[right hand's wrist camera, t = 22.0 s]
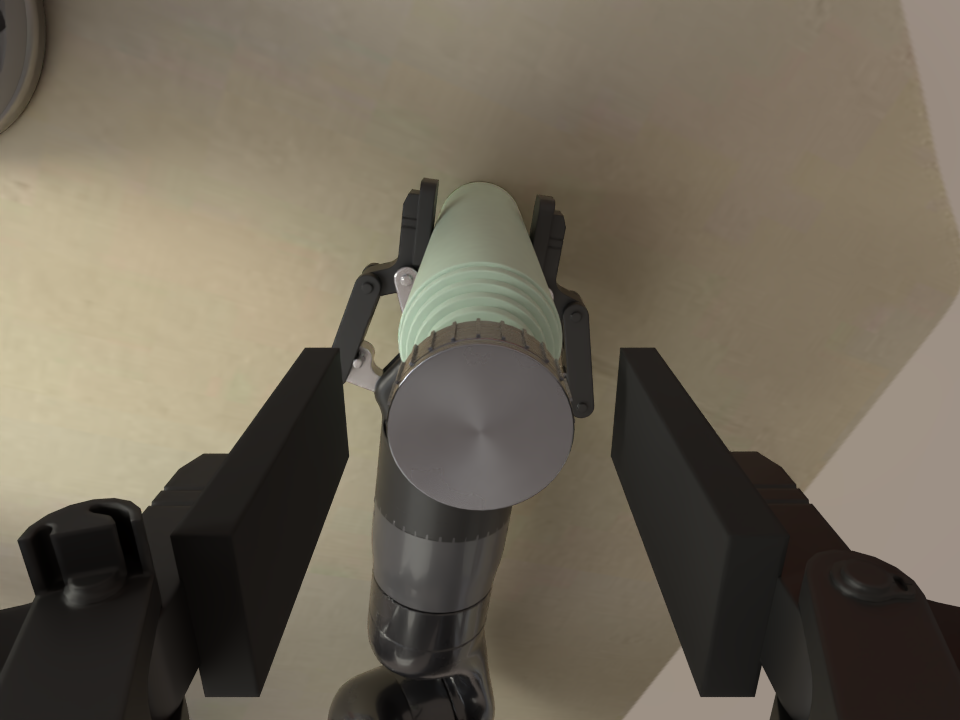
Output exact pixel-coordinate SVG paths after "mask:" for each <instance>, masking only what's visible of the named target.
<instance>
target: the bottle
mask: <svg viewBox="0 0 960 720" xmlns="http://www.w3.org/2000/svg"><path fill="white" fill-rule="evenodd" d="M477 318H480V321H493V322H499V323H500V321H501V320H502V321H504V323H505V324H507V325H510V326H513V327H516V328H518V329H520V330H522V329H523V328H524V329H526V331H527V333H528V334H529V335H531V336H533V337H534V338H535V339H536V340H538V341H539V342H540V343H541V342H542V341H543V342H544V343H545V346H546V349H547V350H548V351H549V352H550V354H551V355H552V357H553V358H554V359H556V358H557V359H558V361H559V358H560V355H561V349H562V327H561V322H560V318H559V315H558V312H557V309H556V307H555V304H554V301H553V299H552V296H551V293H550V291H549V288H548V285H547V283H546V280H545V277H544V275H543V272H542V269H541V267H540V264H539V261H538V259H537V256H536V253H535V251H534V248H533V245H532V243H531V240H530V237H529V235H528V232H527V229H526V227H525V224H524V221H523V219H522V216H521V213H520V211H519V208H518V206H517V204H516V202H515V200H514V199H513V198H512V197H511V195H510V194H509V193H508V192H506V191H505V190H504V189H502V188H501V187H499V186H497V185H494V184H491V183H487V182H473V183H469V184H466V185H463V186H461V187H459V188H458V189H456V190H455V191H454V192H452V193H451V194H450V195H449V197H448V198H447V199H446V201H445V202H444V204H443V206H442V208H441V211H440V214H439V216H438V219H437V222H436V224H435V227H434V230H433V233H432V235H431V238H430V241H429V243H428V246H427V249H426V251H425V254H424V257H423V260H422V262H421V265H420V268H419V270H418V273H417V276H416V278H415V281H414V284H413V287H412V289H411V292H410V295H409V297H408V300H407V303H406V305H405V308H404V311H403V314H402V317H401V320H400V325H399V332H398V344H399V352H400V356H401V360H402V362H405V361H406V359H407V358H408V356H409V355H410V353H411V352H412V349H413V346H414V345H415V344H416V345H419V344H420V343H421V342H422V341H423V340H424V339H426V338H427V337H429V336H430V335H431V332H432V331H433V330H435V332H437V331H439V330H441V329H443V328H445V327H448V326H451V325H452V324H453V322H455V321H456V322H457V323H462V322H467V321H476V319H477Z"/></svg>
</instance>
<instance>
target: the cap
mask: <svg viewBox="0 0 960 720" xmlns="http://www.w3.org/2000/svg"><path fill="white" fill-rule="evenodd" d="M571 401H573V399H572V396H571V393H570V389H569V386H568V383H567V380H566V378H564V377H563V373H562V370H561V367H560V364H559V361H558V359H557V358H556V359H554V358H553V357H552V355H551V354H550V352H549V351H548V350H547V349H546V346H545V343H544V342H543V341H542V342H541V343H540V342H539V341H538V340H536V339H535V338H534V337H533V336H531V335H529V334H528V333H527V331H526V329H524V328H523V329H522V330H520V329H518V328H516V327H513V326H510V325H507V324H505V323H504V321H502V320H501V321H500V323H499V322H493V321H480V318H477V319H476V321H467V322H462V323H457V322H456V321H455V322H453V324H452V325H451V326H448V327H445V328H443V329H441V330H439V331H437V332H435V330H433V331H432V332H431V335H430V336H429V337H427V338H426V339H424V340H423V341H422V342H421V343H420V344H419V345H416V344H415V345H414V346H413V349H412V352H411V353H410V355H409V356H408V358H407V359H406V361H405V362H401V364H400V367H399V370H398V374H397V377H396V380H395V382H394V383H393V386H392V390H391V393H390V396H389V399H388V403H387V405H390V406H389V410H388V415H387V422H386V427H387V438H388V444H389V447H390V451H391V454H392V456H393V458H394V460H395V462H396V464H397V466H398V467H399V469H400V470H401V472H402V474H403V475H404V476H405V477H406V478H407V479H408V481H409V482H410V483H411V484H413V485H414V486H415V487H416V488H417V489H418V490H420V491H421V492H422V493H424V494H425V495H427V496H428V497H430V498H432V499H434V500H436V501H438V502H441V503H443V504H446V505H448V506H452V507H456V508H460V509H467V510H481V511H483V510H495V509H500V508H506V507H509V506H512V505H515V504H518V503H520V502H523V501H525V500H527V499H529V498H531V497H532V496H534V495H536V494H537V493H539V492H540V491H541V490H543V489H544V488H545V487H546V486H547V485H548V484H549V483H550V482H551V481H552V480H553V479H554V478H555V477H556V476H557V474H558V473H559V472H560V471H561V469H562V467H563V466H564V464H565V462H566V460H567V458H568V456H569V453H570V451H571V447H572V443H573V439H574V430H575V429H574V423H575V418H574V415H573V410H572V406H571Z"/></svg>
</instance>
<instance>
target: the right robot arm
mask: <svg viewBox="0 0 960 720" xmlns="http://www.w3.org/2000/svg"><path fill="white" fill-rule="evenodd" d="M45 38H46V27H45V13H44V6H43V0H0V133H2V132H3V131H5V130H6V129H7V128H8V127H9V126H10V125H11V124H12V123H13V122H14V121H15V120H16V119H17V118H18V117H19V115H20V114H21V113H22V112H23V110H24V109H25V107H26V106H27V104H28V102H29V101H30V99H31V97H32V95H33V93H34V91H35V89H36V86H37V83H38V80H39V77H40V74H41V70H42V65H43V61H44V52H45ZM348 458H349V449H348V438H347V426H346V415H345V403H344V392H343V381H342V369H341V358H340V348H305V349H304V350H303V351H302V353H301V354H300V356H299V357H298V358H297V360H296V361H295V362H294V364H293V365H292V367H291V368H290V369H289V371H288V372H287V374H286V375H285V376H284V378H283V379H282V381H281V382H280V383H279V385H278V386H277V387H276V389H275V390H274V392H273V393H272V394H271V396H270V397H269V399H268V400H267V401H266V403H265V404H264V406H263V407H262V408H261V410H260V411H259V412H258V414H257V415H256V417H255V418H254V419H253V421H252V422H251V424H250V425H249V426H248V428H247V429H246V431H245V432H244V433H243V435H242V436H241V437H240V439H239V440H238V442H237V443H236V444H235V446H234V447H233V449H232V450H231V451H230V453H229V454H202V455H201V456H199V457H197V458H196V459H194V460H193V461H191V462H190V463H188V464H186V465H185V466H183V467H182V468H180V469H179V470H178V471H177V472H176V473H175V475H174V476H173V477H172V478H171V479H170V481H169V482H168V483H167V484H166V486H165V487H164V491H161V492H160V493H159V494H158V495H157V496H156V498H155V499H154V500H153V501H152V506H148V507H147V509H146V510H145V511H144V512H143V513H141V509H140V508H139V507H138V506H136V505H135V504H134V503H133V502H131V501H127V500H122V499H117V498H108V499H93V500H89V501H85V502H81V503H77V504H73V505H69V506H67V507H65V508H62V509H60V510H58V511H55V512H53V513H50V514H48V515H46V516H45V517H43V518H42V519H40V520H39V521H37V522H36V523H34V524H33V525H31V526H30V527H29V528H28V529H27V530H26V531H25V532H24V533H23V534H22V535H21V537H20V538H19V539H18V540H17V541H18V544H19V547H20V550H21V553H22V556H23V559H24V562H25V565H26V568H27V571H28V574H29V577H30V581H31V584H32V587H33V590H34V593H35V598H34V601H33V602H32V603H29V604H25V605H21V606H17V607H12V608H7V609H3V610H0V720H189V715H188V708H187V704H186V700H185V693H186V691H187V689H188V687H189V685H190V683H191V681H192V679H193V677H194V675H195V673H196V671H197V669H198V667H199V671H200V676H201V680H202V685H203V689H204V694H205V697H260V694H261V691H262V689H263V686H264V683H265V681H266V678H267V675H268V673H269V670H270V667H271V665H272V662H273V659H274V656H275V654H276V651H277V648H278V646H279V643H280V640H281V638H282V635H283V632H284V630H285V627H286V624H287V622H288V619H289V616H290V614H291V611H292V608H293V605H294V603H295V600H296V597H297V595H298V592H299V589H300V587H301V584H302V581H303V579H304V576H305V573H306V571H307V568H308V565H309V562H310V560H311V557H312V554H313V552H314V549H315V546H316V544H317V541H318V538H319V536H320V533H321V530H322V528H323V525H324V522H325V520H326V517H327V514H328V511H329V509H330V506H331V503H332V501H333V498H334V495H335V493H336V490H337V487H338V485H339V482H340V479H341V477H342V474H343V471H344V469H345V466H346V463H347V460H348ZM611 458H612V460H613V463H614V466H615V469H616V471H617V474H618V477H619V479H620V482H621V485H622V487H623V490H624V493H625V495H626V498H627V501H628V503H629V506H630V509H631V511H632V514H633V517H634V520H635V522H636V525H637V528H638V530H639V533H640V536H641V538H642V541H643V544H644V546H645V549H646V552H647V554H648V557H649V560H650V563H651V565H652V568H653V571H654V573H655V576H656V579H657V581H658V584H659V587H660V589H661V592H662V595H663V597H664V600H665V603H666V605H667V608H668V611H669V614H670V616H671V619H672V622H673V624H674V627H675V630H676V632H677V635H678V638H679V640H680V643H681V646H682V648H683V651H684V654H685V656H686V659H687V662H688V665H689V667H690V670H691V673H692V675H693V678H694V681H695V683H696V686H697V689H698V691H699V694H700V696H701V697H755V694H756V689H757V685H758V680H759V676H760V671H761V666H763V668H764V670H765V672H766V674H767V676H768V678H769V680H770V682H771V684H772V686H773V688H774V690H775V692H776V695H775V700H774V704H773V708H772V712H771V717H770V720H960V607H957V606H952V605H947V604H943V603H938V602H934V601H931V600H927V599H926V597H925V595H924V594H923V592H922V591H921V590H920V588H919V587H918V586H917V584H916V583H915V582H914V580H912V579H911V578H910V577H908V576H907V575H906V574H904V573H903V572H902V571H900V570H899V569H898V568H896V567H894V566H892V565H890V564H888V563H886V562H884V561H882V560H880V559H878V558H876V557H873V556H869V555H866V554H862V553H859V552H855V551H851V550H850V549H849V548H848V546H847V545H846V544H845V543H844V542H843V540H842V539H841V538H840V537H839V536H838V534H837V533H836V532H835V531H834V530H833V528H832V527H831V526H830V525H829V524H828V522H827V521H826V520H825V519H824V518H823V517H822V515H821V514H820V513H819V512H818V510H817V509H816V508H815V507H814V506H813V504H809V500H808V498H807V497H806V496H805V495H804V494H803V492H802V491H801V490H800V489H797V488H796V484H795V483H794V482H793V480H792V479H791V478H790V477H789V476H788V474H787V473H786V472H785V471H784V470H783V468H782V467H781V466H779V465H777V464H776V463H774V462H773V461H771V460H769V459H768V458H766V457H765V456H763V455H761V454H760V453H758V452H730V451H729V450H728V449H727V447H726V446H725V444H724V443H723V442H722V440H721V439H720V437H719V436H718V435H717V433H716V432H715V431H714V429H713V428H712V426H711V425H710V424H709V422H708V421H707V419H706V418H705V417H704V415H703V414H702V412H701V411H700V410H699V408H698V407H697V406H696V404H695V403H694V401H693V400H692V399H691V397H690V396H689V394H688V393H687V392H686V390H685V389H684V387H683V386H682V385H681V383H680V382H679V381H678V379H677V378H676V376H675V375H674V374H673V372H672V371H671V369H670V368H669V367H668V365H667V364H666V362H665V361H664V360H663V358H662V357H661V356H660V354H659V353H658V351H657V350H656V349H655V348H620V358H619V369H618V381H617V392H616V403H615V415H614V426H613V438H612V449H611Z"/></svg>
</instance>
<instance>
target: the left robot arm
mask: <svg viewBox="0 0 960 720" xmlns="http://www.w3.org/2000/svg"><path fill="white" fill-rule="evenodd" d="M438 185H439V180H436V179H429V178H423V180H422V181H421V186H420V190H414V189H412V190H411V191H410V192H409V194H408V196H407V198H406V200H405V202H404V204H403V213H402V224H401V235H400V245H399V255H398V258H397V259H396V260H394V261H392V262H388V263H383V264H378V263H371V264H369V265H367V266H366V267H365V269H364V270H363V272H362V275H360V276H359V277H358V279H357V280H356V282H355V284H354V287H353V290H352V293H351V296H350V298H349V301H348V304H347V307H346V309H345V312H344V315H343V318H342V320H341V323H340V326H339V329H338V332H337V334H336V337H335V340H334V343H333V345H332V348H340V358H341V369H342V381H343V384H344V383H345V382H346V381H347V382H349V383H352V384H355V385H357V386H360V387H363V388H365V389H368V390H371V391H373V392H374V393H375V398H376V401H377V403H378V404H379V407H380V409H381V413H382V428H381V438H380V449H379V459H378V470H377V480H376V491H375V498H374V513H373V523H372V551H373V570H372V580H371V591H370V601H369V613H368V637H369V642H370V645H371V648H372V650H373V652H374V654H375V656H376V657H377V659H378V660H379V661H380V662H381V664H383V665H382V666H380V667H377V668H374V669H372V670H369V671H367V672H364V673H362V674H360V675H357V676H355V677H354V678H352V679H350V680H349V681H347V682H346V683H345V684H344V685H342V687H341V688H340V689H339V690H338V692H337V693H336V695H335V697H334V698H333V701H332V704H331V706H330V709H329V714H328V720H494V714H495V703H494V696H493V690H492V685H491V680H490V674H489V667H488V658H487V649H486V641H485V630H484V627H485V622H486V617H487V612H488V607H489V601H490V596H491V590H492V585H493V580H494V576H495V573H496V571H497V568H498V565H499V563H500V560H501V557H502V554H503V550H504V545H505V540H506V535H507V530H508V525H509V519H510V514H511V509H512V506H509V507H506V508H500V509H495V510H483V511H481V510H467V509H460V508H456V507H452V506H448V505H446V504H443V503H441V502H438V501H436V500H434V499H432V498H430V497H428V496H427V495H425V494H424V493H422V492H421V491H420V490H418V489H417V488H416V487H415V486H414V485H413V484H411V483H410V482H409V481H408V479H407V478H406V477H405V476H404V475H403V474H402V472H401V470H400V469H399V467H398V466H397V464H396V462H395V460H394V458H393V456H392V454H391V451H390V447H389V444H388V438H387V427H386V422H387V415H388V410H389V406H390V405H387V403H388V399H389V396H390V393H391V390H392V386H393V383H394V382H395V380H396V377H397V374H398V370H399V367H400V364H401V362H402V360H401V356H400V353H399V354H398V355H397V356H396V357H395V358H394V359H393V360H392V361H391V362H390V363H389V364H388V365H387V366H386V367H385V368H384V369H383V370H382V369H380V368H379V367H378V366H377V365H376V364H375V361H374V355H375V350H374V347H373V346H372V344H370V343H369V342H367V341H364V338H365V335H366V333H367V330H368V328H369V325H370V322H371V320H372V317H373V314H374V312H375V309H376V306H377V304H378V301H379V299H380V296H383V295H388V294H393V293H397V295H398V299H399V303H400V307H401V311H402V314H403V311H404V308H405V305H406V303H407V300H408V297H409V295H410V292H411V289H412V287H413V284H414V281H415V278H416V276H417V273H418V270H419V268H420V265H421V262H422V260H423V257H424V254H425V251H426V249H427V246H428V243H429V241H430V238H431V235H432V233H433V230H434V221H435V212H436V204H437V195H438ZM565 229H566V226H565V221H564V216H563V214H562V213H561V212H560V211H556V210H555V200H554V199H553V198H552V197H550V196H543V195H537V197H536V201H535V206H534V212H533V218H532V224H531V229H530V235H529V237H530V240H531V243H532V245H533V248H534V251H535V253H536V256H537V259H538V261H539V264H540V267H541V269H542V272H543V275H544V277H545V280H546V283H547V285H548V288H549V291H550V293H551V296H552V299H553V301H554V304H555V307H556V309H557V312H558V315H559V318H560V322H561V327H562V349H561V356H562V367H561V370H562V373H563V377H564V378H566V380H567V383H568V386H569V389H570V393H571V396H572V399H573V401H571V406H572V410H573V415H574V416H575V417H578V418H585V417H588V416H589V415H590V414H591V413H592V412H593V410H594V395H593V379H592V362H591V345H590V329H589V314H588V311H587V309H586V307H585V305H584V303H583V301H582V299H581V298H580V296H579V294H578V293H576V292H575V291H569V290H567V289H565V288H563V287H561V286H560V285H558V284H557V283H556V276H557V271H558V266H559V260H560V255H561V249H562V245H563V239H564V234H565Z"/></svg>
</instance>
